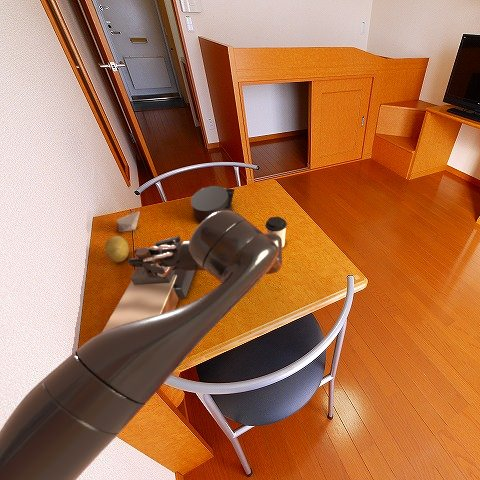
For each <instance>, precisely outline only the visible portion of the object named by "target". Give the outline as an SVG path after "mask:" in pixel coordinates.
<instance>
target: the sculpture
mask: <svg viewBox="0 0 480 480" xmlns="http://www.w3.org/2000/svg"><path fill="white" fill-rule="evenodd" d="M104 253H105V256H106V257H107V259H108V260H109V261H111V262H114V263H121V262H123V261H125V260H126V259H127V258H128V256H129V253H130V246H129V242H128V241H127V240H126V239H125V238H124V237H122V236H119V235H118V236H117V235H116V236H115V235H114V236H112V237H110V238H109V239H108V240H107V241H106V242H105V245H104Z"/></svg>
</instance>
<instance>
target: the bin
mask: <svg viewBox="0 0 480 480" xmlns="http://www.w3.org/2000/svg"><path fill="white" fill-rule="evenodd" d="M152 257H154V255H152ZM159 261H160V260H159ZM195 272H196V270H192V271H185V270H183V269H176V270H175V272H174V275H177V277H176V280H175V282H174V284H176V285H177V287H176V288H174V290H175V293H176V295H177V297H178V299H184V298H187V295H188V292H189V290H190V287H191V283H192V281H193V278H194V275H195Z"/></svg>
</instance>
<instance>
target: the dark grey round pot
mask: <svg viewBox="0 0 480 480" xmlns="http://www.w3.org/2000/svg"><path fill="white" fill-rule="evenodd" d="M235 191H236V189H235V188H226V187H222V186H218V185H210V186H205V187H201V189H199V190H197V191H196V192H195V193H194V194H193V195H192V196H191V198H190V199H191V200H190V205H191V207H192V211H193V213H194V214H193V215H194V217H195V219H196V221H197V222H198V223H199V224H200V223H201V222H202V221H204V220H205V219H206V218H207V217H208V216H210V215H211V214H213V213H215V212H218V211H222V210H230V211H232V207H231V206H232V202H233V197H234V194H235Z"/></svg>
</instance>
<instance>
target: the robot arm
mask: <svg viewBox="0 0 480 480" xmlns="http://www.w3.org/2000/svg"><path fill="white" fill-rule="evenodd" d="M154 244H155V245H152V246H150V247H147V248H148V250H149V252H150V254H151V256H152V255H154V257H150V258H138V257H137V255H136V251H137V250H138V249H140V248H141V247H139V248H135V249H134V250H133V253H134V254H135V256H136V257H130V258H128V259H127V262H128V264H129V266H131V267H132V268H137V267H144V269H145V270H146V273H148V274H150V275H153V276H156V277H159V278H162V279H166V278H167V274H168V273H169V272H170V271H171V270H176V269H183V270H185V271H192V270H195V271H206V272H207V273H208V274H209V275H211V276H212V277H213V278H215V279H216V280H217V281H219V282H220V284H219V285H217V286H216V287H215V288H214V289H212V290H211V291H209V292H207V293H206V294H204V295H203V296H201V297H199V298H198V299H196V300H194V301H192V302H189V303H187V304H185V305H183V306H179V307H176V308H175V310H172V311H169V312H166V313H162V314H159V315H155V316H151V317H148V318H144V319H141V320H137V321H134V322H130V323H127V324H124V325H121V326H118V327H115V328H112V329H109V330H107V331H105V332H102V331H101V332H100V333H98V334H97V335H95V336H93V337H91V338H90V339H88V340H87V341H86V342H85V343H83V344H82V345H81V346H80V347H78V349H77V350H75V351H74V352H73V353H72V354H70V355H69V356H67V358H65V360H64V361H62V362H60V364H59V365H58V366H57V367H55V368H54V369H53V370H52V371H50V373H48V374H47V375H46V376H45V377H43V379H41V380H40V381H39V382H38V383H37V384H36V385H35V386H34V387H33V388H31V390H30V391H29V392H28V393H27V394H26V395H25V396H24V398H23V399H22V400H21V401H20V403H18V405H17V406H16V407H15V408H14V410H13V411H12V413H11V414H10V416H9V417H8V419H6V421H5V423H4V424H3V426H2V427H1V429H0V480H77V479H78V478H79V477H80V476H81V475H82V474H83V473H84V472H85V470H86V469H87V468H88V467H89V466H90V465H91V464H92V463H93V462H94V461H95V460H96V458H98V457H99V456H100V454H101V453H102V452H103V451H104V450H105V449H106V448H107V447H108V446H110V444H111V443H113V441H114V440H115V439H116V438H117V437H118V436H119V434H120V433H121V432H123V430H124V429H125V428H126V427H127V425H129V423H130V422H131V421H132V420H133V419H134V418H135V417H136V416H137V415H138V414H139V412H140V411H141V410H142V409H143V408H144V407H145V405H146V404H147V403H148V402H149V401H150V400H151V399H152V398H153V396H154V395H155V394H156V393H157V392H158V391H159V389H161V387H162V386H163V385H164V384H165V382H166V381H167V380H168V379H169V378H170V377H171V375H172V374H173V373H174V372H175V371H176V370H177V368H178V367H179V366H180V365H181V364H182V363H183V362H184V360H185V359H186V358H187V357H188V355H189V354H190V353H191V352H192V351H193V350H194V349H195V347H196V346H197V345H198V344H200V342H201V341H202V340H203V339H204V338H205V337H206V335H207V334H209V332H210V331H211V330H212V329H214V327H216V325H218V323H219V322H220V321H221V320H222V319H223V318H224V317H225V316H226V315H227V314H228V313H229V312H230V311H232V309H233V308H234V307H235V306H237V304H238V303H239V302H240V301H241V300H242V299H243V298H244V297H245V296H246V295H247V294H248V293H249V292H250V291H252V289H253V288H254V287H255V286H256V285H257V284H258V283H259V282H260V281H261V280H262V279H263V278H264V277H265V276H266V275H272V274H276V273H278V272H279V271H280V270H281V269H282V267H283V247H282V240H281V237H280V236H278V235H277V234H275V233H268V232H266V233H264V232H263V231H262V230H261V229H259V228H258V227H256V226H255V225H254V224H253V223H251V222H250V221H249V220H248V219H247V218H246V217H244V216H242V215H241V214H239V213H237V212H236V211H233V210H231V211H230V210H222V211H218V212H215V213H213V214H211V215H210V216H208V217H207V218H206V219H205V220H204V221H202V222H201V223H200V222H199V224H198V226H196V228H195V229H194V231H193V232H192V234H191V236H190V238H189V240H185V241H182V239H181V236H178V235H177V236H174V237H171V238H170V237H169V238H165V239H162V240H158V241H156V242H155V243H154ZM159 260H160V261H159ZM151 262H154V263H151Z"/></svg>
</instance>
